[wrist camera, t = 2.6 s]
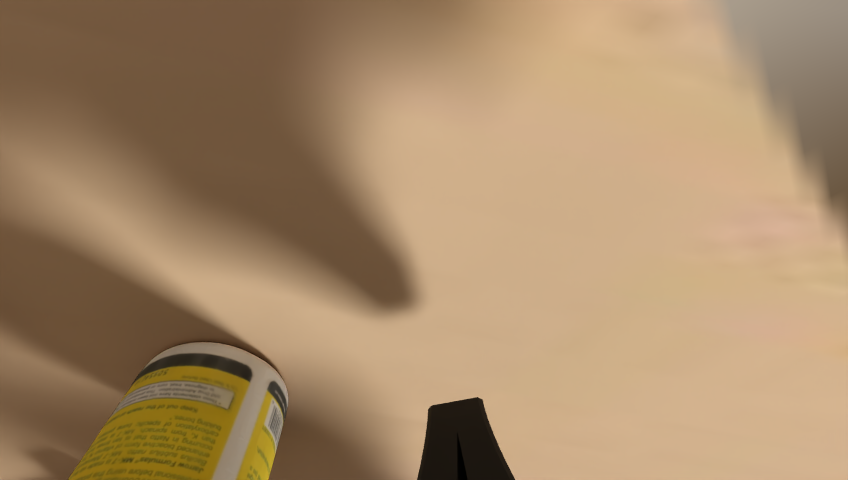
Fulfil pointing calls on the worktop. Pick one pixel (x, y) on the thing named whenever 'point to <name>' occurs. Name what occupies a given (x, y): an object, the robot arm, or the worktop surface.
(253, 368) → the supplement bottle
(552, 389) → the worktop surface
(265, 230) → the worktop surface
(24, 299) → the worktop surface
